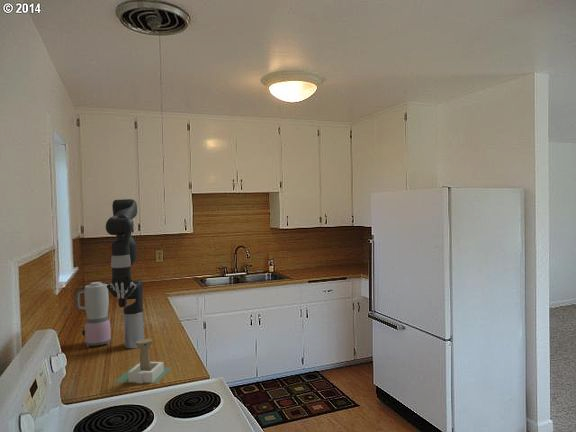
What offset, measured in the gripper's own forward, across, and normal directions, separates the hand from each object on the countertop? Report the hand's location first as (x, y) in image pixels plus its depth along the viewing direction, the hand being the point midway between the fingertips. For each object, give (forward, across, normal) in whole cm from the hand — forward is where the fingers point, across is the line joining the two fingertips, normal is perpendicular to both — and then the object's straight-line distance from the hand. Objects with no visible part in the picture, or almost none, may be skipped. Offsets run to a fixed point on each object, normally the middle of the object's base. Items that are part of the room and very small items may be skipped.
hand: (122, 306), depth 175 cm
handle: (+28, -11, +4) cm, 31 cm away
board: (+29, -9, +1) cm, 30 cm away
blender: (+29, +36, -37) cm, 59 cm away
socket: (+28, -11, +3) cm, 30 cm away
